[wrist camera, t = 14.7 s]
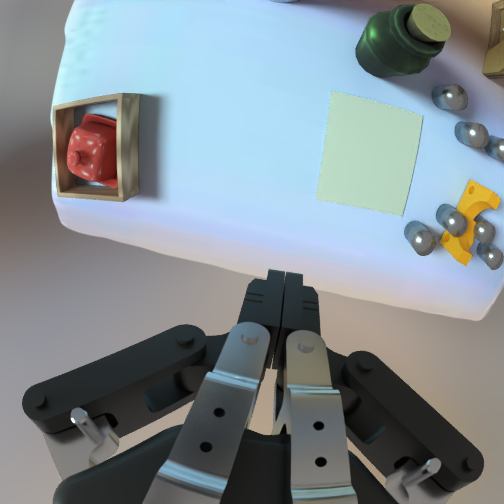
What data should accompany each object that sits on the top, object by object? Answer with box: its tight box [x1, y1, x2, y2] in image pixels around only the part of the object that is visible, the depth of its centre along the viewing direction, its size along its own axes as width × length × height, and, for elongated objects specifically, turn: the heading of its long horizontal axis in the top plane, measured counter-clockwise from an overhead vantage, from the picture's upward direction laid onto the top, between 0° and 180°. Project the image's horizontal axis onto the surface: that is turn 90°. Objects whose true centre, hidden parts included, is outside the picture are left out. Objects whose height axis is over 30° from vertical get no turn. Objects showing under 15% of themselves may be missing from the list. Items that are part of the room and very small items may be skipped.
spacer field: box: [404, 85, 504, 270], centre depth 30 cm, size 26×21×5 cm
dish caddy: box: [53, 93, 140, 202], centre depth 37 cm, size 17×16×5 cm
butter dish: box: [67, 114, 118, 188], centre depth 36 cm, size 12×12×8 cm
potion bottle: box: [356, 3, 451, 77], centre depth 20 cm, size 8×8×18 cm
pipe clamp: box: [439, 180, 501, 266], centre depth 33 cm, size 12×4×6 cm, turn 162°
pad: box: [316, 91, 423, 216], centre depth 35 cm, size 16×14×1 cm
